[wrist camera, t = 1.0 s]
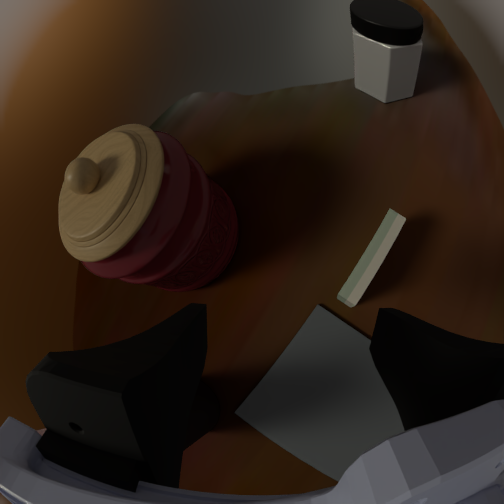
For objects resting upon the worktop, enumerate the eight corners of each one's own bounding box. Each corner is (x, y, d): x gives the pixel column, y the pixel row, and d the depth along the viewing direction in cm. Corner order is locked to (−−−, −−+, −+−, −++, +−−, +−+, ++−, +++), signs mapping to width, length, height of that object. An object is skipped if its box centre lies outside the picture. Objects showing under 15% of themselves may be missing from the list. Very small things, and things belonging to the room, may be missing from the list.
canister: (234, 171, 32) (152, 63, 16) (250, 282, 29) (139, 236, 12) (143, 201, 35) (40, 137, 19) (146, 300, 32) (16, 278, 15)
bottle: (232, 422, 26) (99, 521, 7) (184, 438, 27) (50, 510, 8) (202, 368, 28) (38, 409, 9) (158, 388, 29) (6, 423, 10)
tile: (392, 238, 26) (406, 218, 20) (350, 307, 25) (355, 305, 20) (379, 230, 26) (389, 208, 21) (337, 298, 26) (338, 294, 20)
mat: (453, 396, 20) (454, 397, 20) (365, 493, 20) (365, 495, 19) (318, 304, 26) (317, 304, 26) (235, 411, 26) (234, 412, 26)
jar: (415, 109, 27) (431, 37, 16) (353, 99, 30) (350, 23, 19) (408, 66, 29) (415, 1, 17) (354, 58, 31) (348, -9, 20)
